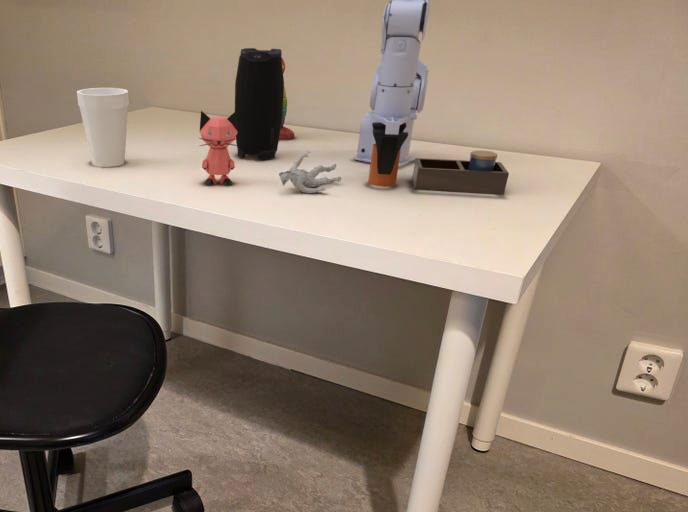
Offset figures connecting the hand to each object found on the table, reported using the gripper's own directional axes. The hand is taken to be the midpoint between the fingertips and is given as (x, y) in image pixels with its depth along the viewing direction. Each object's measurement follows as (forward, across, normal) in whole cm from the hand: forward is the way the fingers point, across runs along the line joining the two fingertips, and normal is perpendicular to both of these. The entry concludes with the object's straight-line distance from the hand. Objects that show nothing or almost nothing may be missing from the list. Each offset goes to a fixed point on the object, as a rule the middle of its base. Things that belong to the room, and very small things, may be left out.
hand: (383, 170), depth 109 cm
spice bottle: (+3, 0, 0) cm, 3 cm away
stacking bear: (+3, +36, +25) cm, 44 cm away
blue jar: (+2, 0, -16) cm, 16 cm away
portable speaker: (+3, +17, +24) cm, 30 cm away
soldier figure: (+3, -4, +12) cm, 13 cm away
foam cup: (+3, +5, +52) cm, 52 cm away
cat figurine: (+3, -4, +28) cm, 29 cm away
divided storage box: (+3, 0, -12) cm, 13 cm away
